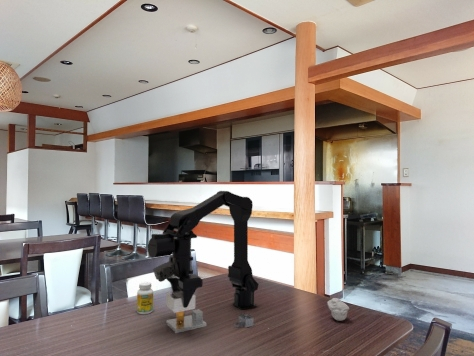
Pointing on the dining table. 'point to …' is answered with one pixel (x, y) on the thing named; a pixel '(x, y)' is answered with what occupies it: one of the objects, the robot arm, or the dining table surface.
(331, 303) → the grey stone carving
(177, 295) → the grey square frame
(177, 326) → the peg stand
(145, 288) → the supplement bottle
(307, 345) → the dining table surface
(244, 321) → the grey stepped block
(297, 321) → the dining table surface
